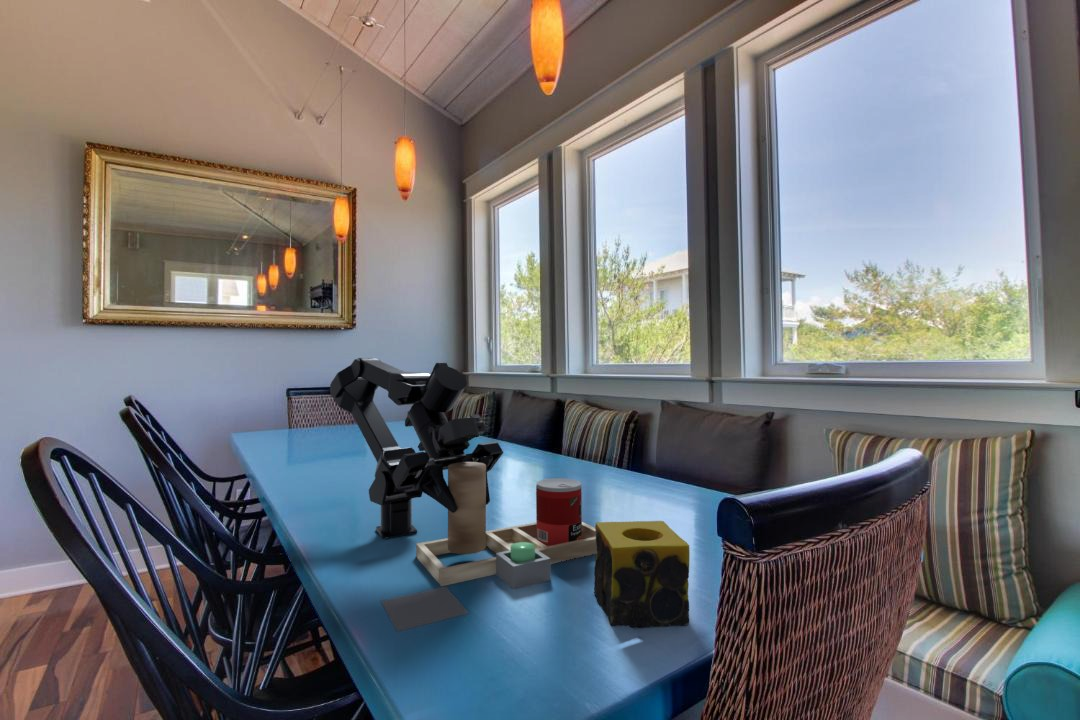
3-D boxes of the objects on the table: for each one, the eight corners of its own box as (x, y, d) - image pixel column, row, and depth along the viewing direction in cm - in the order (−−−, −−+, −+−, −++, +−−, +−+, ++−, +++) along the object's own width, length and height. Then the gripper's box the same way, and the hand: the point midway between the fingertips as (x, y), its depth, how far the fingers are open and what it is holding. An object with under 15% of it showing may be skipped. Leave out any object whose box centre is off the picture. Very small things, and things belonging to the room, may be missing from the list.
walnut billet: (439, 548, 82) (440, 466, 82) (467, 537, 87) (467, 460, 87) (466, 557, 78) (466, 471, 78) (493, 545, 83) (493, 465, 83)
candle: (593, 593, 72) (592, 521, 72) (663, 590, 73) (663, 519, 73) (609, 631, 62) (608, 547, 62) (691, 626, 62) (690, 544, 63)
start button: (506, 564, 77) (506, 544, 77) (527, 560, 79) (527, 540, 79) (517, 573, 74) (517, 552, 74) (539, 568, 76) (539, 547, 76)
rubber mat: (380, 604, 69) (380, 601, 69) (445, 589, 73) (445, 586, 73) (397, 634, 61) (397, 631, 61) (468, 616, 65) (468, 613, 65)
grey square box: (496, 576, 77) (495, 553, 77) (531, 568, 80) (531, 545, 80) (513, 591, 72) (513, 566, 72) (550, 582, 75) (550, 558, 75)
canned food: (579, 555, 86) (578, 489, 86) (532, 552, 87) (531, 487, 88) (584, 539, 93) (583, 478, 93) (541, 537, 95) (540, 477, 95)
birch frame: (416, 558, 85) (416, 543, 85) (570, 529, 99) (570, 516, 99) (441, 588, 73) (441, 571, 73) (611, 550, 88) (611, 535, 88)
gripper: (401, 402, 79) (441, 487, 71) (496, 396, 92) (539, 467, 84) (377, 447, 84) (412, 531, 76) (470, 435, 97) (508, 506, 89)
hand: (472, 507), depth 81 cm, fingers closed on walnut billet, 6 cm apart
